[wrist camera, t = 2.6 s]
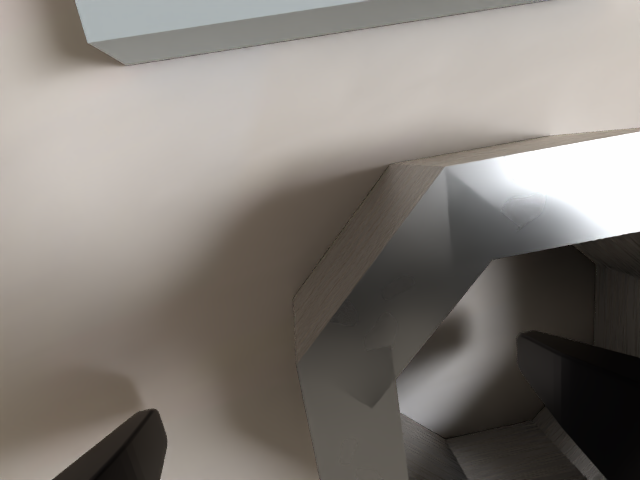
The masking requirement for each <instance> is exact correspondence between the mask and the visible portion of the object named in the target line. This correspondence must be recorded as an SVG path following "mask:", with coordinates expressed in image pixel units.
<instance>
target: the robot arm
mask: <svg viewBox="0 0 640 480" xmlns="http://www.w3.org/2000/svg"><path fill="white" fill-rule="evenodd" d="M516 344H517V364H518V367H519V369H520V371H521V373H522V374H523V376H524V377H525V379H526V380H527V381H528V383H529V384H530V385H531V387H532V388H533V390H534V391H535V392H536V394H537V395H538V396H539V398H540V399H541V401H542V402H543V403H544V405H545V406H546V407H547V409H548V410H549V412H550V413H551V414H552V416H553V417H554V418H555V420H556V421H557V422H558V424H559V425H560V426H561V427H562V429H563V430H564V431H565V432H566V433H567V434H568V436H569V437H570V438H571V439H572V440H573V441H574V443H575V444H576V445H577V446H578V447H579V448H580V449H581V451H582V452H583V453H584V454H585V455H586V456H587V457H588V459H589V460H590V461H591V462H592V463H593V464H594V465H595V467H596V468H597V469H598V470H599V471H600V472H601V473H602V475H603V476H604V477H605V478H606V479H607V480H640V358H639V357H636V356H632V355H628V354H624V353H620V352H616V351H613V350H609V349H605V348H601V347H597V346H593V345H590V344H586V343H582V342H578V341H574V340H570V339H567V338H563V337H559V336H555V335H551V334H548V333H544V332H540V331H536V330H532V331H527V332H522V333H519V334H518V335H517V338H516ZM166 449H167V436H166V432H165V429H164V426H163V423H162V420H161V417H160V414H159V412H158V411H157V410H156V409H148V410H143V411H139V412H137V413H135V414H134V415H133V416H132V417H130V418H129V419H128V420H127V421H125V422H124V423H123V424H122V425H120V426H119V427H118V428H117V429H115V430H114V431H113V432H112V433H110V434H109V435H108V436H106V437H105V438H104V439H103V440H101V441H100V442H99V443H98V444H96V445H95V446H94V447H93V448H91V449H90V450H89V451H88V452H86V453H85V454H84V455H83V456H81V457H80V458H79V459H78V460H76V461H75V462H74V463H72V464H71V465H70V466H69V467H67V468H66V469H65V470H64V471H62V472H61V473H60V474H59V475H57V476H56V477H55V478H54V479H52V480H160V477H161V473H162V468H163V463H164V459H165V454H166Z"/></svg>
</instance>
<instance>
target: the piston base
mask: <svg viewBox="0 0 640 480" xmlns="http://www.w3.org/2000/svg"><path fill="white" fill-rule="evenodd" d="M540 1H546V0H75V2H76V6H77V9H78V13H79V16H80V19H81V23H82V26H83V29H84V33H85V36H86V39H87V43H88V44H90V45H92V46H94V47H95V48H97V49H99V50H100V51H102V52H104V53H106V54H107V55H109V56H111V57H113V58H114V59H116V60H118V61H119V62H121V63H123V64H125V65H126V66H127V65H134V64H140V63H147V62H153V61H160V60H166V59H173V58H179V57H185V56H192V55H198V54H205V53H211V52H218V51H224V50H231V49H237V48H243V47H250V46H256V45H263V44H269V43H276V42H282V41H288V40H295V39H301V38H308V37H314V36H321V35H327V34H334V33H340V32H346V31H353V30H359V29H366V28H372V27H379V26H385V25H392V24H398V23H404V22H411V21H417V20H424V19H430V18H437V17H443V16H450V15H456V14H462V13H469V12H475V11H482V10H488V9H495V8H501V7H507V6H514V5H520V4H527V3H533V2H540Z"/></svg>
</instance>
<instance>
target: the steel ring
mask: <svg viewBox="0 0 640 480" xmlns="http://www.w3.org/2000/svg"><path fill="white" fill-rule="evenodd" d="M571 244H572V245H573V246H575V247H576V248H577V249H578V250H579V251H581V252H582V253H583V254H584V255H585V256H587V257H588V258H589V259H590V260H592V261H593V262H594V263H595V264H596V278H595V317H594V346H597V347H601V348H605V349H609V350H613V351H616V352H620V353H624V354H628V355H632V356H636V357H639V358H640V128H631V129H620V130H608V131H597V132H586V133H574V134H563V135H552V136H546V137H541V138H535V139H529V140H524V141H518V142H512V143H507V144H501V145H495V146H490V147H484V148H478V149H473V150H467V151H461V152H456V153H450V154H444V155H438V156H433V157H427V158H421V159H416V160H410V161H404V162H399V163H393V164H390V165H389V167H388V168H387V169H386V171H385V172H384V173H383V175H382V176H381V178H380V179H379V180H378V182H377V183H376V184H375V186H374V187H373V189H372V190H371V191H370V193H369V194H368V196H367V197H366V198H365V200H364V201H363V202H362V204H361V205H360V207H359V208H358V209H357V211H356V212H355V213H354V215H353V216H352V218H351V219H350V220H349V222H348V223H347V225H346V226H345V227H344V229H343V230H342V231H341V233H340V234H339V236H338V237H337V238H336V240H335V241H334V242H333V244H332V245H331V247H330V248H329V249H328V251H327V252H326V253H325V255H324V256H323V258H322V259H321V260H320V262H319V263H318V265H317V266H316V267H315V269H314V270H313V271H312V273H311V274H310V276H309V277H308V278H307V280H306V281H305V282H304V284H303V285H302V287H301V288H300V289H299V291H298V292H297V294H296V295H295V296H294V298H293V306H294V328H295V351H296V367H297V372H298V376H299V381H300V386H301V391H302V396H303V400H304V405H305V410H306V415H307V420H308V424H309V429H310V434H311V439H312V443H313V448H314V453H315V458H316V463H317V467H318V472H319V477H320V480H607V479H606V478H605V477H604V476H603V475H602V473H601V472H600V471H599V470H598V469H597V468H596V467H595V465H594V464H593V463H592V462H591V461H590V460H589V459H588V457H587V456H586V455H585V454H584V453H583V452H582V451H581V449H580V448H579V447H578V446H577V445H576V444H575V443H574V441H573V440H572V439H571V438H570V437H569V436H568V434H567V433H566V432H565V431H564V430H563V429H562V427H561V426H560V425H559V424H558V422H557V421H556V420H555V418H554V417H553V416H552V414H551V413H550V412H549V410H548V409H547V407H546V406H545V407H544V408H543V409H542V410H541V411H540V412H539V413H538V414H537V416H536V417H535V418H534V419H533V420H531V421H527V422H522V423H518V424H513V425H509V426H504V427H499V428H495V429H490V430H486V431H481V432H477V433H472V434H468V435H463V436H458V437H454V438H449V439H444V438H442V437H441V436H439V435H437V434H436V433H434V432H432V431H430V430H429V429H427V428H425V427H424V426H422V425H420V424H418V423H417V422H415V421H413V420H412V419H410V418H408V417H406V416H405V415H403V414H401V413H400V410H399V403H398V395H397V388H396V379H397V378H398V376H399V375H400V374H401V373H402V371H403V370H404V369H405V368H406V366H407V365H408V364H409V363H410V361H411V360H412V359H413V358H414V356H415V355H416V354H417V353H418V352H419V350H420V349H421V348H422V347H423V345H424V344H425V343H426V342H427V340H428V339H429V338H430V337H431V335H432V334H433V333H434V332H435V330H436V329H437V328H438V327H439V325H440V324H441V323H442V322H443V320H444V319H445V318H446V317H447V316H448V314H449V313H450V312H451V311H452V309H453V308H454V307H455V306H456V304H457V303H458V302H459V301H460V299H461V298H462V297H463V296H464V294H465V293H466V292H467V291H468V289H469V288H470V287H471V286H472V285H473V283H474V282H475V281H476V280H477V278H478V277H479V276H480V275H481V273H482V272H483V271H484V270H485V268H486V267H487V266H488V265H489V263H490V262H491V261H492V260H494V259H499V258H504V257H509V256H515V255H520V254H525V253H530V252H535V251H540V250H546V249H551V248H556V247H561V246H566V245H571Z"/></svg>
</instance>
